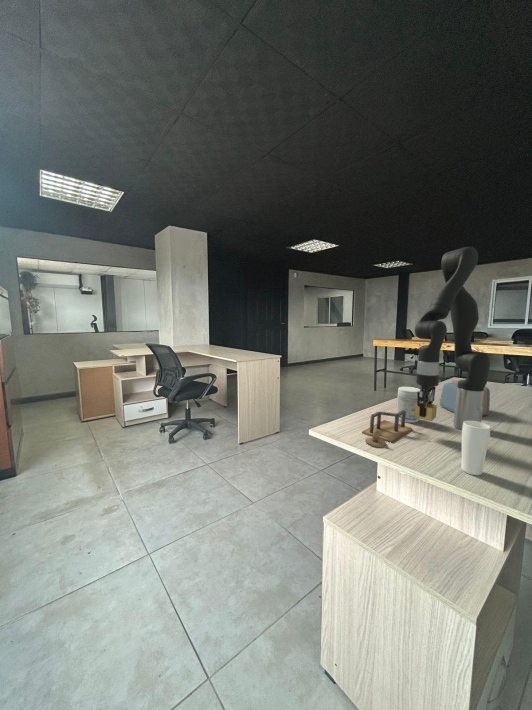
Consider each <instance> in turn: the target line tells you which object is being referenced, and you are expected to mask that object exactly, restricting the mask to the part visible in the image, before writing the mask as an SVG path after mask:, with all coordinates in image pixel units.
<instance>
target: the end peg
mask: <svg viewBox="0 0 532 710" xmlns="http://www.w3.org/2000/svg"><path fill="white" fill-rule="evenodd" d="M365 442H366V443H367V444H368V445H367V444H366V443H365V444H366V445H367V446H369V445H370V447H372V446H374V447H373V448H378V447H381V448H384V446H385V447H386V444H387V443H386V441H384V440H382V439H379V431H378V430H373V437H372V436H369V437H366V438H365Z"/></svg>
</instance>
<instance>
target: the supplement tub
mask: <svg viewBox="0 0 532 710" xmlns="http://www.w3.org/2000/svg"><path fill="white" fill-rule="evenodd" d="M420 389H421V388H417V387H412V386H399V387H398V389H397V399H396V413H398V412H400V411H402V410H405V412H406V417H405V423H408V424H409V423H410V424H411V423H413V424H415V423H417V422H420V421H419V420H420V419H419V418H415V417H414V416H415V405H416V404H417V392H418V391H419V392H420ZM401 420H402V415H401V416H399V421H400V422H401Z"/></svg>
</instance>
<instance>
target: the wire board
mask: <svg viewBox="0 0 532 710" xmlns="http://www.w3.org/2000/svg"><path fill="white" fill-rule="evenodd" d="M401 415H402V420H401V421H400V420H399V416H401ZM382 416H390V417H394V421H389V420H385V419H383V420H381V419H382ZM405 417H406V412H405V410H402V411H400V412H398V413H395V412H387V411H377V412H375V413H373V414H371V415H370V421H369V422H370V423H369V427H368V428H366V429H364V430H362V431H361V433H362V434H363V435H366V436H369V437H373V430H378V431H379V439H382V440H385V442H387V441H388V442H387V443H390V442H391V444H393V443H394V442H396V441H397V440H399V439H400V438H401V437H403V436H404V435H406V434H407V433H410V432H411V431H412V429H413V427H411V426H407V425H406V422H405ZM375 418H376V424H375ZM399 421H400V423H399ZM392 442H393V443H392Z"/></svg>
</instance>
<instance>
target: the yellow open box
mask: <svg viewBox="0 0 532 710" xmlns="http://www.w3.org/2000/svg"><path fill="white" fill-rule="evenodd" d="M422 404H423V402H422ZM437 407H438V406H437V404H434V403H432V404H429V403H427V408H426V417H421V416H419V411H420V407H419V406H417V404H416V405H415V416H414V417H415V418H419V420H424V421H429V422H433V421H434V420H435V419H436V418H437Z"/></svg>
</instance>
